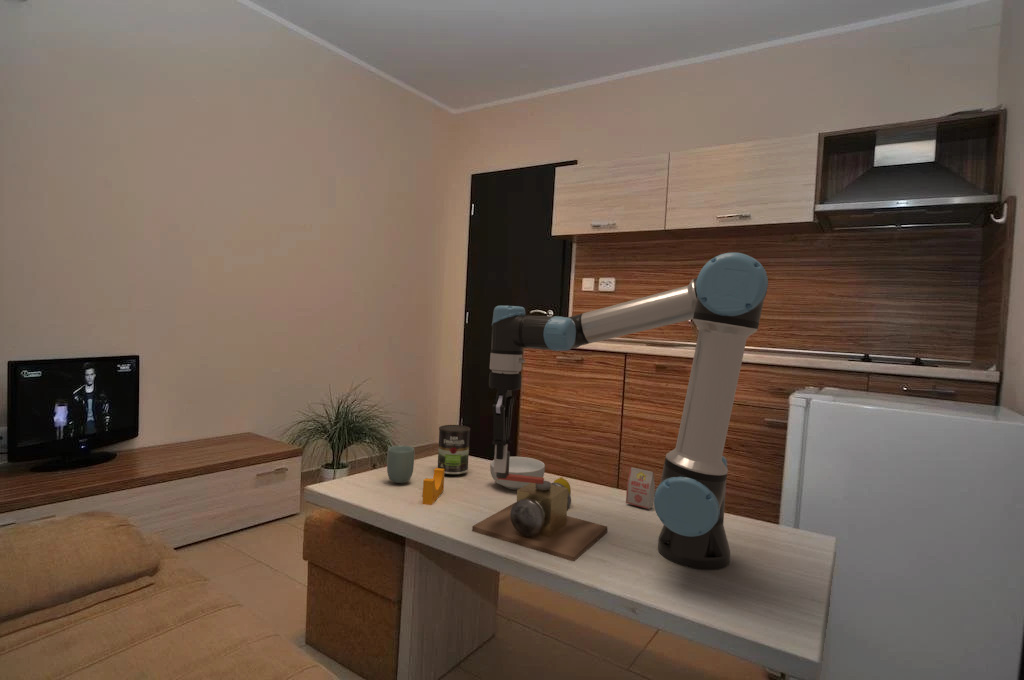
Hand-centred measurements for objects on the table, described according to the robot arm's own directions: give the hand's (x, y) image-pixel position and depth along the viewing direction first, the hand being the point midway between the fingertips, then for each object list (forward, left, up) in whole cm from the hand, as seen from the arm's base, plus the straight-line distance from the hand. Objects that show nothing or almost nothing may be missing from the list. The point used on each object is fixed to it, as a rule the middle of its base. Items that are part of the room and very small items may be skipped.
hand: (499, 471), depth 119 cm
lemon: (-4, -26, -15) cm, 30 cm away
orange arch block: (+28, -9, -15) cm, 33 cm away
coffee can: (+39, -33, -15) cm, 53 cm away
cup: (+44, -14, -15) cm, 48 cm away
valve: (-8, -7, -13) cm, 17 cm away
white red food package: (-22, -41, -15) cm, 49 cm away
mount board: (-8, -7, -15) cm, 18 cm away
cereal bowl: (+14, -33, -15) cm, 38 cm away
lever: (-8, -7, -4) cm, 11 cm away
